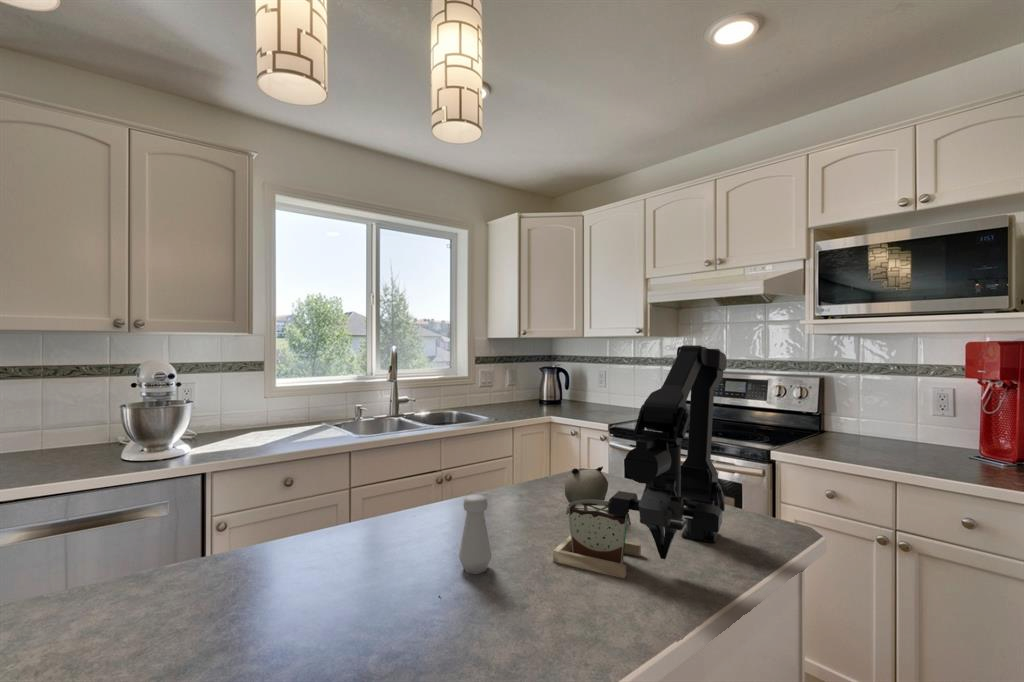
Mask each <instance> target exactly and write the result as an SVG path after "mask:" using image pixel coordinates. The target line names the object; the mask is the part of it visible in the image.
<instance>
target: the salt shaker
mask: <svg viewBox="0 0 1024 682" xmlns="http://www.w3.org/2000/svg"><path fill="white" fill-rule="evenodd" d="M462 506H463V509H464V511H466V514H465V518H464V525H463V530H462V535H461V541H460V548H459V553H458V554H459V555H458V558H459V561H460V564H461V565H462V568H463V570H464V571H465V572H466V573H467V574H473V575H478V574H482V573H485V572H486V571H487V569H488V566H489V563H490V561H491V559H492V549H491V545H490V540H489V535H488V534H489V533H488V529H487V523H486V517H485V511H487V509H488V498H487V497H486V496H485V495H481V494H470V495H468V496H466V497H465V498H464V499H463V505H462Z"/></svg>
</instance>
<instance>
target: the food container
mask: <svg viewBox="0 0 1024 682" xmlns="http://www.w3.org/2000/svg"><path fill="white" fill-rule="evenodd" d="M608 502H609V500H580V501H575V502H572V503H568V506H567V507H566V512H565V515H568V517H569V520H568V521H569V529H570V530H569V531H570V535H571V542H572V550H571V551H572V552H571V553H576V554H580V555H585V556H589V557H594V558H598V559H603V560H607V561H611V562H616V563H620V564H624V556H625V555H624V554H625V553H624V547H625V541H626V538H627V537H626V536H627V526H628V527H630V526H631V524H632V523H631V518H630V514H629V513H630V512H628V513H627V514H626V515H625V516H620V515H614V514H610V513H608Z"/></svg>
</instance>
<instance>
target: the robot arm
mask: <svg viewBox="0 0 1024 682" xmlns="http://www.w3.org/2000/svg"><path fill="white" fill-rule="evenodd" d="M726 369H727V356H726V354H725V353H724V352H723V351H721V349H719V348H708V347H706V346H702V345H699V344H698V345H695V344H694V345H692V344H690V345H688V344H687V345H686V344H684V345H681V346H678V347H677V350H676V357H675V360H674V362H673V363H672V366H671V367H670V370H669V372H668V374H667V375H666V377H665V380H664V381H663V384H662V386H661V387H660V388H658V389H657V390H656V389H655V390H654V391H652V392H651V393H650V394H649V396H647V398H646V399H645V401H644V403H643V404H642V405H641V407H640V409H639V412H638V417H637V420H636V423H635V427H634V430H633V434H632V439H635V447H634V448H632V449H631V450H629V451H628V452H627V454H626V456H625V459H624V469H625V472H626V473H627V476H629V478H630V479H631V480H633V481H635V482H636V483H639V484H645V487H644V490H643V492H642V495H641V497H640V499H638V495H637V493H634V492H628V491H621V490H618V491H617V492H616V493H615V494H614V495H612V496H611V497H610V498H609V499H608V501H609V502H608V513H610V514H614V515H620V516H625V515H626V514H627V513H630V511H636V512H639V523H640V524H642V525H645V526H646V527H647V528H648V529H649V532H650V533H651V535H652V538H653V541H654V543H655V546H656V550H657V553H658V554H659V555H658V556H659V558H660V560H666V559H667V558H668V554H669V551H670V550H671V547H672V543H673V541H674V538H675V535H676V533H677V531H682V532H681V537H682V538H685V539H690V540H697V541H700V542H701V541H702V542H706V543H713V544H715V543H716V540H717V538H718V535H719V532H720V529H721V526H722V523H723V512H725V510H726V509H725V508H726V507H725V505H726V501H725V498H726V497H725V495H724V492H723V488H722V486H721V483H720V482H719V473H718V471H717V469H716V467H715V465H714V463H713V462H712V460H711V459H712V437H713V419H714V418H713V416H714V396H715V390H716V389H717V387H718V386H719V385H720V384H721V382H722V380H723V378H724V372H725V371H726ZM689 394H690V401H689V402H690V403H689V410H688V407H687V400H688V397H689ZM645 429H646V430H645ZM687 430H688V436H687V437H688V438H687V453H686V454H687V455H686V458H685V460H684V461H683V463H682V461H681V460H682V459H681V458H682V454H681V453H682V451H681V449H682V447H681V446H682V445H681V442H683V439H685V436H686V434H687V433H686V432H687Z"/></svg>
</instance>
